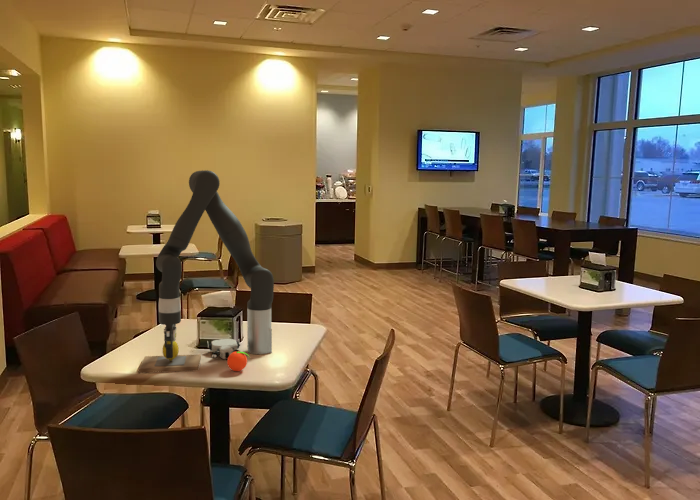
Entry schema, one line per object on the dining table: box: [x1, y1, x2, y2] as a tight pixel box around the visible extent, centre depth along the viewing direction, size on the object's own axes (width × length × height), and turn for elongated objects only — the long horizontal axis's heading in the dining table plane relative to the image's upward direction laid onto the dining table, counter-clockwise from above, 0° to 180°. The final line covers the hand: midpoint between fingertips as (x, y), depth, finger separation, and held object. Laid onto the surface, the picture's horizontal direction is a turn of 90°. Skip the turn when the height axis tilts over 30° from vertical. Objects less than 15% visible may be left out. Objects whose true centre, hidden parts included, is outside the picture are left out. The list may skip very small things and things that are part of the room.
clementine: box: [226, 350, 251, 372], centre depth 209 cm, size 8×7×7 cm
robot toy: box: [207, 338, 241, 360], centre depth 227 cm, size 12×4×15 cm
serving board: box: [138, 353, 202, 374], centre depth 214 cm, size 20×14×2 cm
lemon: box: [162, 340, 179, 361], centre depth 213 cm, size 6×6×8 cm
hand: (170, 354), depth 214 cm, fingers open, 7 cm apart
